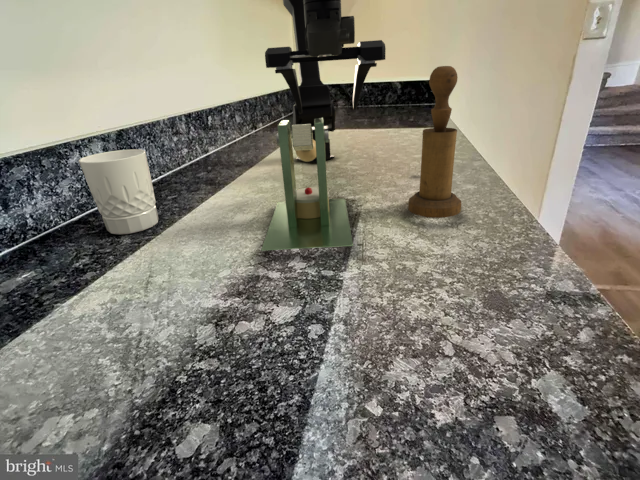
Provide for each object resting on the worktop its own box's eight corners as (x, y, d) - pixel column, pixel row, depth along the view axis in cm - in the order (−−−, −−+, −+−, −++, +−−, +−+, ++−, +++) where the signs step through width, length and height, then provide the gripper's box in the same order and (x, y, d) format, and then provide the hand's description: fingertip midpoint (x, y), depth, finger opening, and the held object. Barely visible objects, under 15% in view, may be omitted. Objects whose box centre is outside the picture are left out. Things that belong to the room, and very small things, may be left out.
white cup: (174, 217, 54) (158, 149, 50) (134, 239, 47) (111, 162, 43) (133, 214, 57) (114, 149, 52) (89, 234, 50) (63, 161, 46)
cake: (291, 206, 52) (289, 183, 50) (329, 204, 52) (328, 180, 50) (288, 220, 47) (285, 195, 45) (330, 218, 47) (329, 192, 45)
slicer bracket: (278, 209, 54) (267, 116, 49) (345, 205, 54) (342, 111, 48) (262, 260, 40) (244, 135, 34) (353, 255, 40) (350, 128, 34)
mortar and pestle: (462, 210, 49) (478, 63, 42) (457, 228, 44) (474, 64, 37) (413, 206, 52) (419, 67, 44) (402, 222, 47) (407, 68, 39)
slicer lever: (297, 163, 52) (295, 140, 52) (319, 162, 52) (318, 139, 52) (288, 150, 41) (286, 121, 41) (316, 148, 41) (315, 119, 41)
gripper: (252, -1, 49) (267, 120, 55) (392, -12, 48) (390, 113, 55) (264, 11, 59) (275, 113, 65) (380, 3, 58) (379, 106, 65)
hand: (327, 111), depth 62 cm, fingers open, 9 cm apart
